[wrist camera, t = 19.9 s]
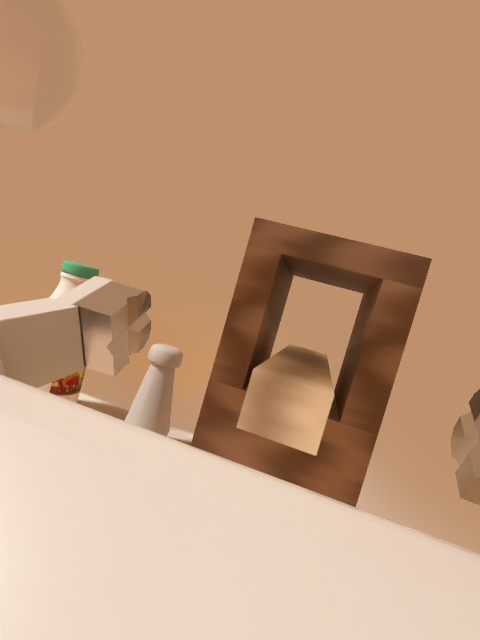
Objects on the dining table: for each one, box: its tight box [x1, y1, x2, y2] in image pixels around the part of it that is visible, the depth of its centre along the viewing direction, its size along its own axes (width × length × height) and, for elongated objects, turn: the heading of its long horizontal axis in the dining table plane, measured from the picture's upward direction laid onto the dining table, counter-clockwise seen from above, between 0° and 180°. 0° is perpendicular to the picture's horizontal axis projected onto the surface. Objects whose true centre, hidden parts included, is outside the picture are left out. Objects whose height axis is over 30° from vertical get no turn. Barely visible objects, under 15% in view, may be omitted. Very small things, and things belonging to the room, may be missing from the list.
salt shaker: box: [125, 344, 183, 436], centre depth 49 cm, size 6×6×13 cm
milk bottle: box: [38, 260, 99, 403], centre depth 52 cm, size 8×8×20 cm
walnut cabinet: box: [191, 218, 432, 507], centre depth 32 cm, size 12×12×27 cm
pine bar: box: [236, 344, 334, 456], centre depth 30 cm, size 4×24×3 cm, turn 167°
